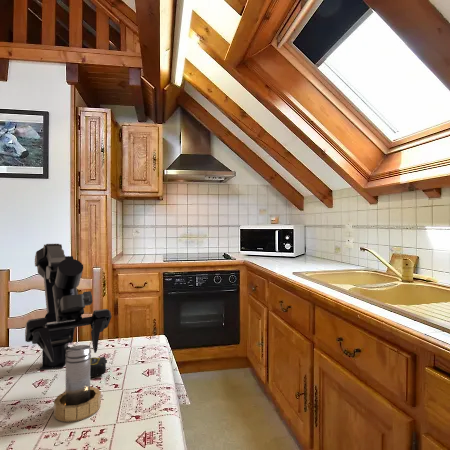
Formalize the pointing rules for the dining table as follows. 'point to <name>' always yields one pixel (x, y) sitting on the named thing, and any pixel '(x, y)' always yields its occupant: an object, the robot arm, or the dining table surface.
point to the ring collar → (77, 407)
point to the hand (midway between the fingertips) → (75, 356)
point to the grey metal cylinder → (77, 375)
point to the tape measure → (97, 366)
